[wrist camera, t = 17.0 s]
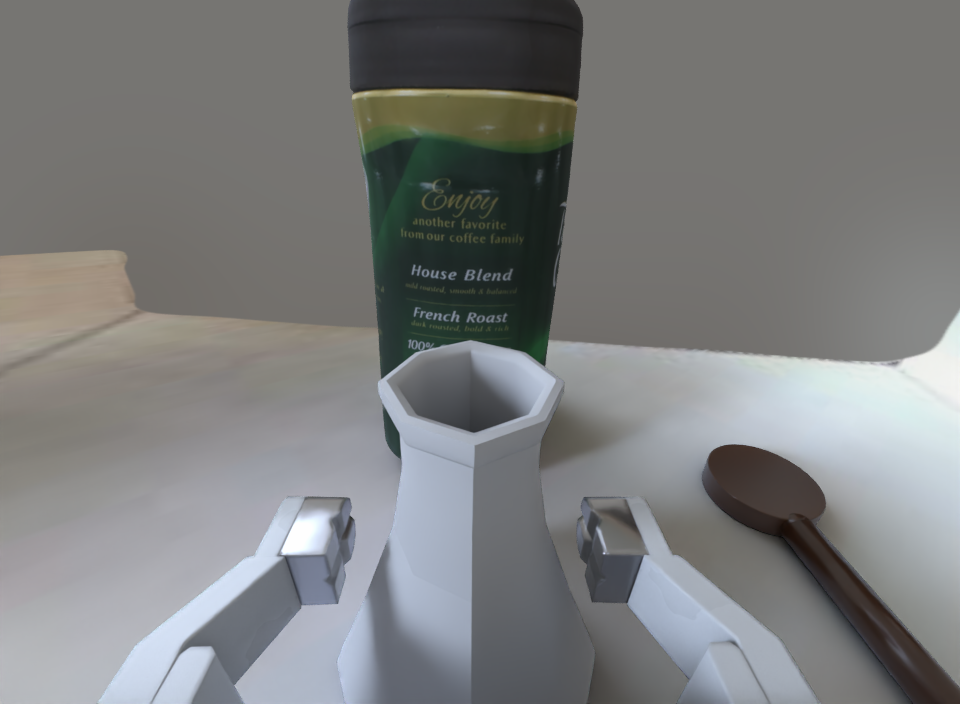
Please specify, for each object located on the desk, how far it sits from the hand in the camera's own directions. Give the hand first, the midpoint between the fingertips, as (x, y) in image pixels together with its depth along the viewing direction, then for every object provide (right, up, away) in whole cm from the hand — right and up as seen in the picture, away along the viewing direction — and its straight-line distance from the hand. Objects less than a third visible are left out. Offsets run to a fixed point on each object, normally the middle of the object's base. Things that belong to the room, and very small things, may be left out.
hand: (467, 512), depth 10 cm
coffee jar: (0, 0, +12) cm, 12 cm away
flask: (0, -5, +2) cm, 6 cm away
